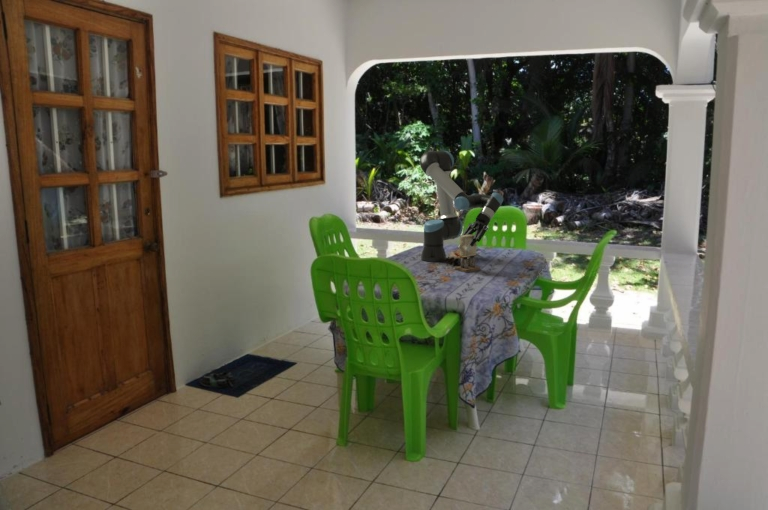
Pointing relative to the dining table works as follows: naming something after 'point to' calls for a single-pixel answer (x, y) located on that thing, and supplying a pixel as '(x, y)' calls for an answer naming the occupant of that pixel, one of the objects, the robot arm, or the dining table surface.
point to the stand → (467, 265)
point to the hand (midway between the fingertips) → (463, 249)
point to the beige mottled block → (463, 244)
